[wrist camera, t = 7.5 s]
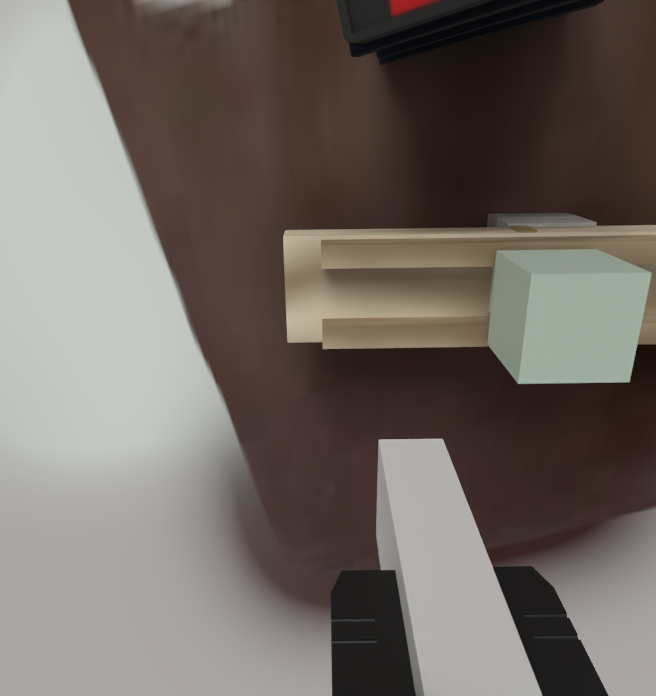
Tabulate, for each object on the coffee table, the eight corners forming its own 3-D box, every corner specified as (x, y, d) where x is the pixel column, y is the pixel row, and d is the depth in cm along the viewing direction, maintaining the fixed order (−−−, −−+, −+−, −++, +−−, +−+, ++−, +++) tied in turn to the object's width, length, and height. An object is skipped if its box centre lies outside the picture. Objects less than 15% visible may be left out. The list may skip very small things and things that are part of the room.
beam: (289, 216, 35) (280, 237, 28) (765, 209, 35) (878, 229, 28) (292, 313, 37) (285, 356, 30) (739, 307, 37) (837, 348, 30)
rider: (485, 243, 30) (531, 274, 23) (579, 241, 30) (651, 272, 23) (477, 331, 31) (518, 383, 25) (565, 330, 31) (629, 382, 25)
